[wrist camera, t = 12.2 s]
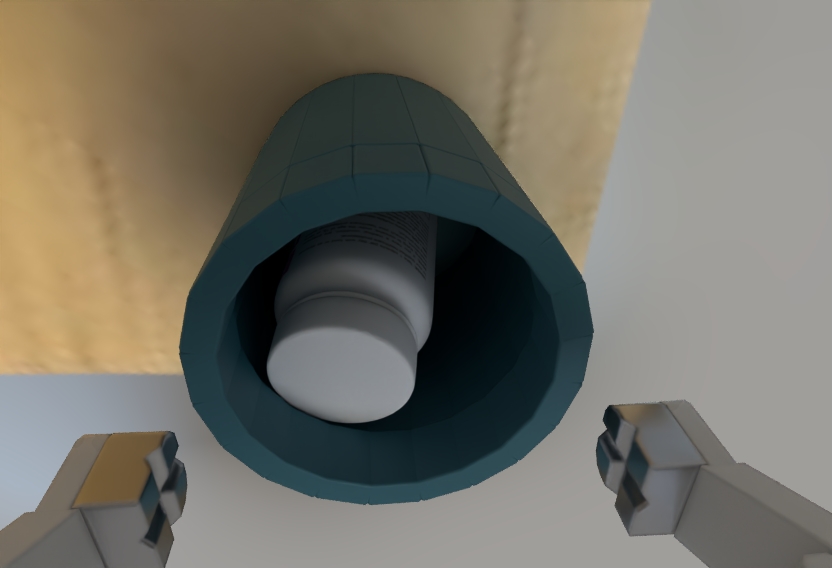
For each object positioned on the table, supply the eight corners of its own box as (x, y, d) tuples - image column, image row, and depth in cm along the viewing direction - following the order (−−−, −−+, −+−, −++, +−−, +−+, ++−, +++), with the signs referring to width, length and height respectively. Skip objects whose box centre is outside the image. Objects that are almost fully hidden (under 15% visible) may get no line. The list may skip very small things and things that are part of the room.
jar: (242, 73, 19) (132, 178, 10) (500, 72, 20) (629, 169, 11) (273, 298, 24) (218, 517, 14) (482, 290, 25) (561, 492, 15)
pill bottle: (293, 163, 20) (217, 329, 14) (421, 137, 19) (404, 301, 13) (336, 264, 23) (291, 440, 17) (449, 246, 22) (447, 424, 16)
